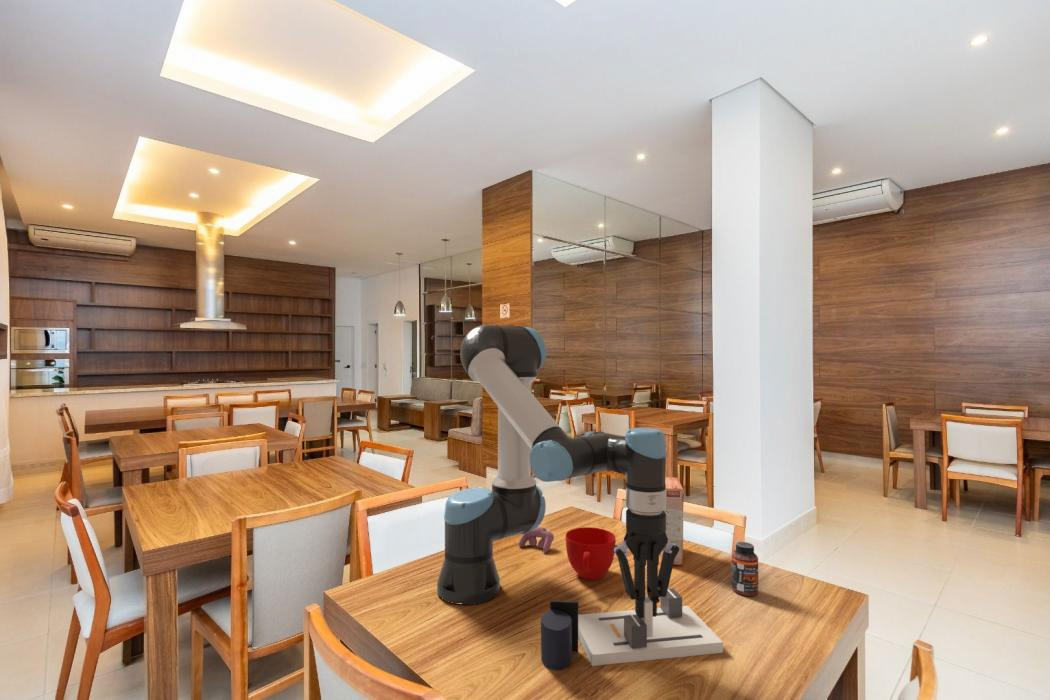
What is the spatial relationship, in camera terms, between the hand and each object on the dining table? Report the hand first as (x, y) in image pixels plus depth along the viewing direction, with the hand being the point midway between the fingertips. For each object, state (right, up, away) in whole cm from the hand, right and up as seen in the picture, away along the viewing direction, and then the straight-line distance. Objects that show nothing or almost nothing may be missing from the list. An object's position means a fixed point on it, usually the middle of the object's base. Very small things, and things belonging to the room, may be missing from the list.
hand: (646, 632), depth 94 cm
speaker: (-17, -4, -3) cm, 17 cm away
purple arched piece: (-20, -5, +51) cm, 55 cm away
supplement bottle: (+30, -4, +24) cm, 39 cm away
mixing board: (+1, -4, +5) cm, 6 cm away
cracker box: (+18, -5, +46) cm, 50 cm away
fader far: (+8, -2, +10) cm, 13 cm away
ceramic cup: (-7, -4, +32) cm, 33 cm away
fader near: (-2, -1, 0) cm, 3 cm away
